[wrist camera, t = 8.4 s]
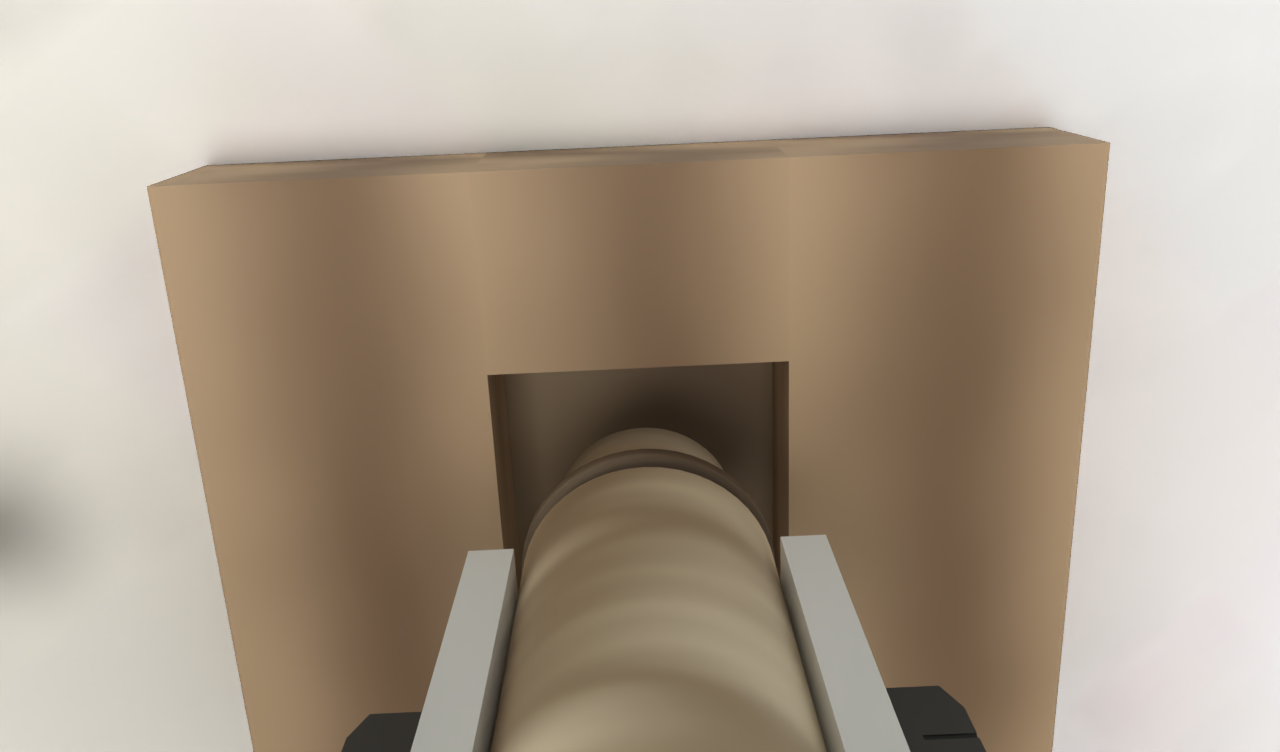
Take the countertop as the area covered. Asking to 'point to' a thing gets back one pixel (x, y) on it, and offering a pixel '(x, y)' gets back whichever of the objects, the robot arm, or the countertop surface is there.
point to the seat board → (640, 386)
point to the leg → (652, 613)
